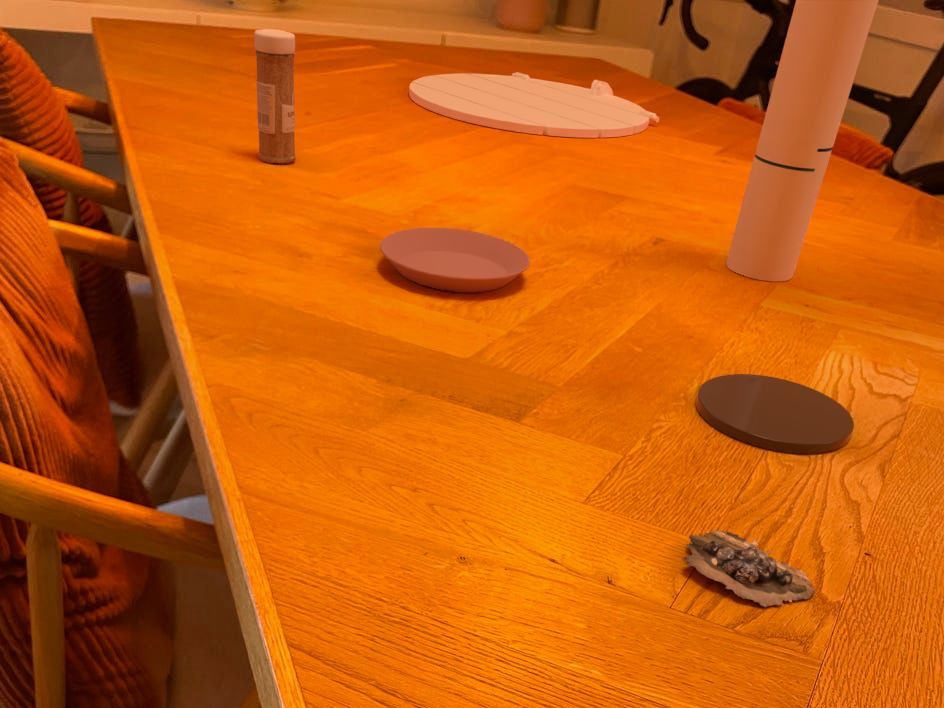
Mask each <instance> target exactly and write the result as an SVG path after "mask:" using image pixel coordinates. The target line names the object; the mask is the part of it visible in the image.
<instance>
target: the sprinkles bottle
mask: <svg viewBox="0 0 944 708" xmlns="http://www.w3.org/2000/svg"><path fill="white" fill-rule="evenodd" d="M253 40H254V41H253V42H254V43H253V44H254V50H255V56H256V108H257V109H256V110H257V113H256V114H257V129H258V153H257V157H258V159H259V160H261V161H262V162H265V163H269V164H273V163H279V164H278V165H285V164H284V163H287V164H291V163H294V162H295V161H296V159H297V157H296V150H295V143H296V142H295V131H296V118H295V117H296V115H295V114H296V113H295V112H296V111H295V76H294V75H295V74H294V72H295V69H294V65H295V64H294V63H295V62H294V61H295V59H294V58H295V53H296V35H295V34H294V33H292V32H289V31H286V30H280V29H271V28H270V29H267V28H265V29H264V28H263V29H262V28H261V29H257V30H255V31H254V39H253ZM290 162H291V163H290ZM280 163H281V164H280Z"/></svg>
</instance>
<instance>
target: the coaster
mask: <svg viewBox="0 0 944 708" xmlns="http://www.w3.org/2000/svg"><path fill="white" fill-rule="evenodd" d="M695 407H696V410H697V412H698V413H699V415H700V416H701V418H703V419H704V421H706V422H707V423H708V424H709V425H710V426H712V427H713V428H714V429H716V430H718V431H719V432H721V433H723V434H725V435H727V436H729V437H730V438H733V439H735V440H737V441H740V442H743V443H745V444H749V445H751V446H755V447H758V448H761V449H766V450H771V451H774V452H781V453H787V454H800V455H811V454H812V455H816V454H825V453H830V452H833V451H836V450H839V449H841V448H843V447H844V446H845V445H847V443H848V442H849V441H850V440H851V437H852V434H853V431H854V428H855V422H854V418H853V417H852V415H851V413H850V412H849V411H848V410H847V409H846V407H844V406H843V405H842V404H841V403H839V402H838V401H836V400H835V399H833V398H832V397H830V396H828V395H827V394H825V393H823V392H821V391H819V390H817V389H814V388H811V387H809V386H807V385H804V384H801V383H798V382H795V381H791V380H787V379H785V378H780V377H774V376H769V375H761V374H751V373H734V374H732V373H731V374H725V375H720V376H719V375H718V376H715V377H713V378H710V379H708V380H706V381H705V382H703V383H702V384H701V385H700V386H699V388H698V390H697V393H696V398H695Z"/></svg>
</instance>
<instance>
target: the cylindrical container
mask: <svg viewBox="0 0 944 708" xmlns="http://www.w3.org/2000/svg"><path fill="white" fill-rule="evenodd" d="M878 4H879V0H795V3H794V7H793V11H792V14H791V19H790V21H789V25H788V29H787V34H786V36H785V40H784V44H783V47H782V52H781V55H780V59H779V63H778V67H777V71H776V74H775V78H774V81H773V85H772V89H771V94H770V96H769V99H768V105H767V108H766V112H765V116H764V118H763V123H762V127H761V130H760V134H759V137H758V142H757V145H756V149H755V154H754V156H753V161H752V164H751V167H750V171H749V176H748V179H747V183H746V187H745V190H744V195H743V198H742V201H741V206H740V209H739V212H738V213H739V214H738V217H737V220H736V225H735V228H734V232H733V236H732V240H731V244H730V247H729V251H728V255H727V259H726V263H725V265H726V267H727V268H728V269H729V270H730V271H732V272H734V273H735V272H736V274H738V273H739V275H740V274H741V275H740V276H743V275H744V276H743V277H746V278H750V279H752V280H753V279H754V280H758V281H763V282H764V281H765V282H786V281H790V280H792V278H794V274H795V270H796V268H797V264H798V261H799V258H800V254H801V252H802V248H803V245H804V242H805V239H806V235H807V232H808V229H809V226H810V222H811V219H812V216H813V214H814V213H813V212H814V209H815V206H816V203H817V200H818V196H819V193H820V191H821V187H822V185H823V184H822V183H823V180H824V177H825V174H826V172H827V167H828V164H829V161H830V158H831V154H832V151H833V147H834V145H835V142H836V138H837V136H838V132H839V129H840V125H841V123H842V119H843V116H844V113H845V110H846V107H847V103H848V100H849V96H850V93H851V91H852V87H853V84H854V80H855V77H856V75H857V71H858V68H859V66H860V65H859V64H860V61H861V58H862V55H863V51H864V49H865V45H866V42H867V39H868V36H869V32H870V28H871V26H872V22H873V20H874V16H875V12H876V9H877V6H878Z"/></svg>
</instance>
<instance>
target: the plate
mask: <svg viewBox="0 0 944 708" xmlns="http://www.w3.org/2000/svg"><path fill="white" fill-rule="evenodd" d="M379 249H380V252H381V254H382V255H383V256H384V257H385V258H386V259H387V260H388V262H389V263H390V264H391V265H392V266H393V267H394V268H395V269H396V271H397V272H398V273H399V274H400V273H401V274H400V275H402V276H403V277H404V278H405V279H407V278H408V279H407V280H409V279H410V280H409V281H411V280H412V281H411V282H413V281H414V282H413V283H415V282H417V283H416V284H418V283H420V284H422V285H421V286H423V285H425V286H424V287H426V286H429V287H428V288H430V287H433V288H432V289H434V288H436V289H435V290H439V289H440V291H445V290H447V291H446V292H452V291H455V292H454V293H484V292H491V291H494V290H498V289H500V288H503V287H505V286H506V285H507V284H509V283H510V282H512V281H513V280H514V279H516V278H517V277H519V276H520V275H522V274H523V273H524V272H526V270H528V269H529V267H530V264H531V259H530V257H529V255H528V254H527V253H526V252H525V250H523V248H521V247H519V246H517V245H516V244H514V243H512V242H510V241H508V240H505V239H503V238H499V237H497V236H494V235H490V234H486V233H483V232H478V231H473V230H468V229H467V230H466V229H460V228H449V227H417V228H416V227H415V228H408V229H403V230H399V231H396V232H393V233H390V234H388V235H387V236H385V237H384V238H383V239H382V240H381V241H380V243H379ZM420 284H419V285H420Z"/></svg>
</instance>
